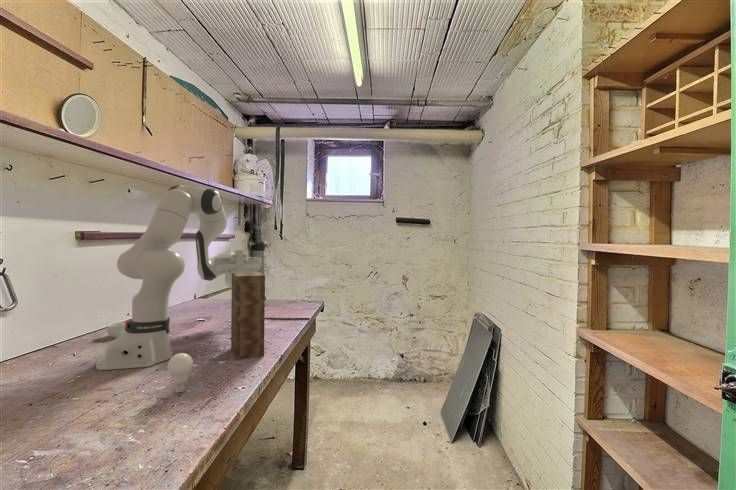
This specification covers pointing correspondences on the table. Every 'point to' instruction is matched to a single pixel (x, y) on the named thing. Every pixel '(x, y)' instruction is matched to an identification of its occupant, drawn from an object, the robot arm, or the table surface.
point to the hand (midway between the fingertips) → (239, 255)
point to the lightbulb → (180, 370)
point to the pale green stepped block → (239, 263)
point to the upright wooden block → (247, 314)
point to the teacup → (116, 329)
